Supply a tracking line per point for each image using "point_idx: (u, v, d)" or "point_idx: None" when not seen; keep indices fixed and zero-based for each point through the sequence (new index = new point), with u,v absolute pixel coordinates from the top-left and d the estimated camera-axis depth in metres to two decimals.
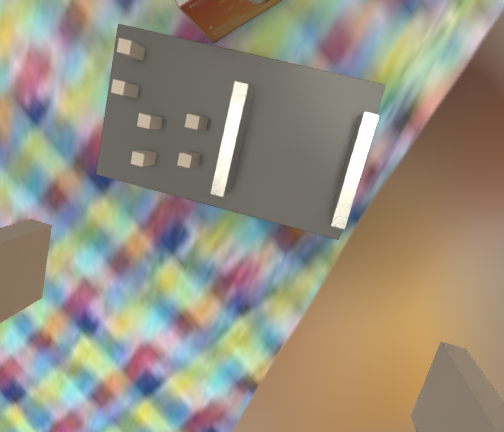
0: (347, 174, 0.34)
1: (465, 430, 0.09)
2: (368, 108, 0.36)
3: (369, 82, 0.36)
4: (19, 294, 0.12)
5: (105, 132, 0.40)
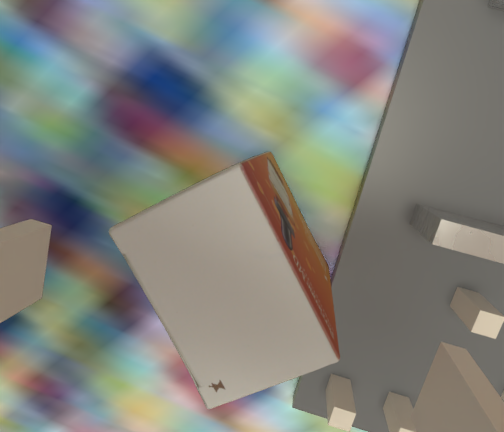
0: None
1: (465, 430, 0.09)
2: None
3: None
4: (19, 294, 0.12)
5: None
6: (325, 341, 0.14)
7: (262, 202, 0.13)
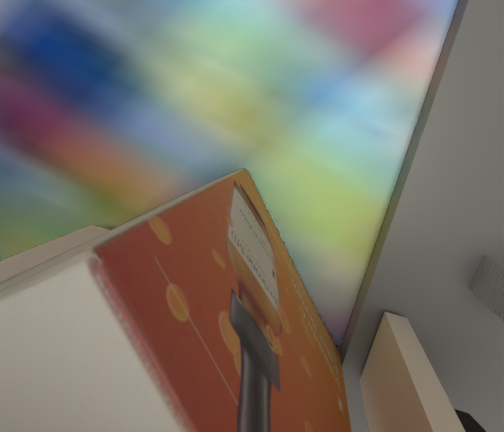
0: None
1: (393, 383, 0.10)
2: None
3: None
4: None
5: None
6: None
7: (171, 367, 0.04)
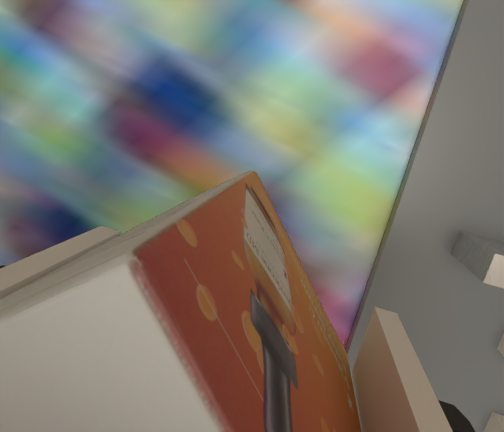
0: None
1: (380, 376, 0.11)
2: None
3: None
4: None
5: None
6: None
7: (205, 364, 0.04)
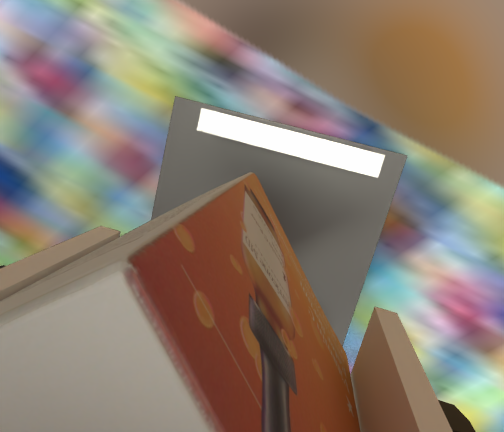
0: (291, 153, 0.21)
1: (380, 375, 0.11)
2: None
3: (172, 118, 0.26)
4: None
5: None
6: None
7: (201, 372, 0.04)
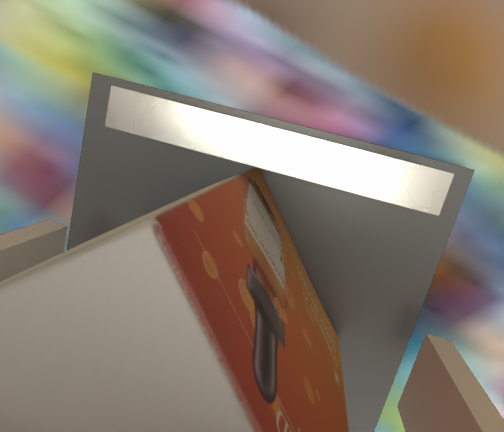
0: (275, 168, 0.11)
1: (446, 417, 0.10)
2: None
3: (89, 109, 0.16)
4: None
5: None
6: None
7: (207, 307, 0.06)
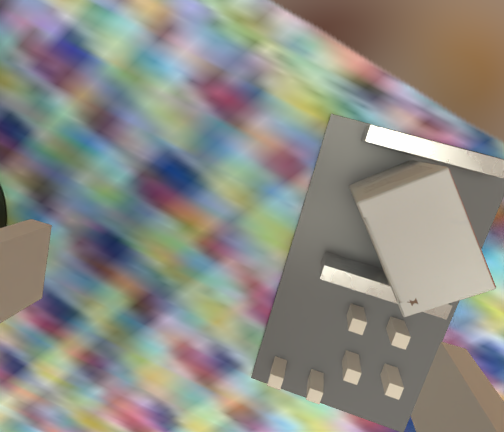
0: (438, 159, 0.28)
1: (465, 430, 0.09)
2: (355, 131, 0.33)
3: (327, 131, 0.33)
4: (19, 294, 0.12)
5: (356, 412, 0.37)
6: (488, 275, 0.23)
7: (457, 190, 0.23)
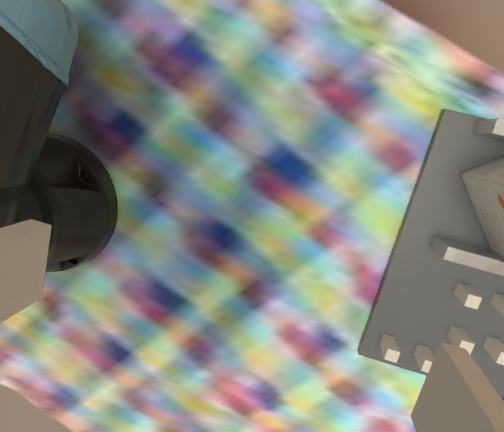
0: None
1: (465, 430, 0.09)
2: (467, 124, 0.36)
3: (441, 124, 0.36)
4: (19, 294, 0.12)
5: None
6: None
7: None
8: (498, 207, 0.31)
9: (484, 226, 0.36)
